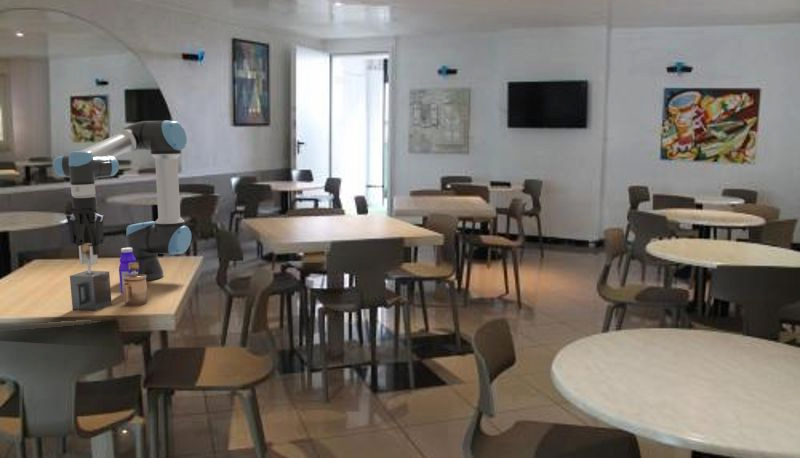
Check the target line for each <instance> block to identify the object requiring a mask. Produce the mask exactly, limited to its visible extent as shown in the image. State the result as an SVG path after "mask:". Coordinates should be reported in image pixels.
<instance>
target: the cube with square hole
mask: <svg viewBox="0 0 800 458" xmlns="http://www.w3.org/2000/svg"><path fill="white" fill-rule="evenodd" d="M69 283H70V293H71V308H72V311H86V312H89V311H90V312H97V311H99V310H102V309H104V308H107V307H109V306H111V305H112V304H113V303H112V294H111V293H112V291H111V279H110V271H107V270H91V274H88V270H84V271H81V272H77V273H75V274H72V275H69Z"/></svg>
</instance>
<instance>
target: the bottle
mask: <svg viewBox="0 0 800 458" xmlns="http://www.w3.org/2000/svg"><path fill="white" fill-rule="evenodd" d="M120 252H121V253H120V258H119V263H120V264H119V266H118V276H119V288H120V289H119V290H120V293H121V295H123V293H122V285H124V284H123V279H122V277H123V276H125V275H130V274H133V270H129V263H131V262H135V260H136V259H135V257H134V255H133V249H132V248H127V247H122V248H120ZM136 274H138V270H136Z"/></svg>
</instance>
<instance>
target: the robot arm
mask: <svg viewBox="0 0 800 458" xmlns="http://www.w3.org/2000/svg"><path fill="white" fill-rule="evenodd" d="M187 140H188V139H187V133H186V131H185V128H184V127H183V125H182V124H181V123H180V122H178V121H175V120H143V121H142V120H141V121H138V122H136V123H133V124H130V125H128V126H126V127H123V128H121V129H118V130H117V132H116V133H115V135H112V136H110V137H108V138H106V139H103V140H101V141H99V142H97V143H94V144H93V145H90V146H88V147H86V148H84V149H82V150H79V151H77V150H76V151H70V152H69V153H68V155H60V156H57V157H56V158H55V159H54V161H53V166H52V167H53V170H54V172H55V174H56V175H57V176H59V177H63V178H70V190H71V191H70V193H71V196H72V198H71V203H72V204H71V205H72V206H71V207H72V208H73V211H72V214H68V215H66V216H65V217H66V221H67V222H68V230H69V237H70V243H71V244H72V245H73V244H74V245H76V251H77V255H78V256H79V265H85V264H87V254H83V253H82V244H85V242H84V239H85V230H86V229H85V228H87V230H88V231H87V232H88V236H89V239H90V243H91V244H92V245H90V263H91V266H94V265H97V264H99V261H98V259H99V258H98V255H99V254H100V253H99V252H100V251H99V249H100V248H99V245H100V244H103V243H104V220H105V215H104V214H99V213H98V211H97V209H96V208H97V198H96V197H95V196H96V193H97V192H96V185H95V178H109V177H112V176H115V175H116V174H118V172H119V169H120V166H119V165H120V164H119V161H118V159H116V157H119V156H120V155H123V154H125V153H126V154H127V153H128V154H129V153H130V154H131V153H133V152H134V151H147V150H148V151H150V156H152V157H153V158H154V162H155V163H154V164H155V179H156V181H155V183H156V199H157V217H158V218H157V219H156V220H155V221H154V220H153V221H152V220H151V221H145V222H139V223H134V224H130V225H127V227H126V235H125V237H126V246H127V247H126V248H132V249H133V255H134V257H135V259H136V260H135V262H138V265H139V269H138V274H145V275H146V277H147V278H146V282H147V281H153V280H157V279H158V280H159V279H161V278H163V277H164V270H163V268H162V264H161V262H160V260H159V256H158V254H160V255H161V254H162V255H163V254H165V255H181V254H184V253H185V252H186V251H187V250H188V249H189V247H190V245H191V241H192V232H191V230H190V229H191V228H189V227H188V226H187V225H185V222H186V221H185V220H184V219H183V218H182V217H181V202H180V186H179V185H180V184H179V183H180V182H179V163H178V159H179V157H180V156H181V155H182V150H184V149H185V148H186V144H187Z"/></svg>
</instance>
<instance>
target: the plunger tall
mask: <svg viewBox="0 0 800 458" xmlns="http://www.w3.org/2000/svg"><path fill="white" fill-rule="evenodd" d="M90 245H92V244H91V242H90V243H89V242H87V243H86V242H85V243H84V244H82V253H83V254H86V256H87V263H86V265H87V271H88V274H91V271H92V265H91V258H90Z"/></svg>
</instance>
